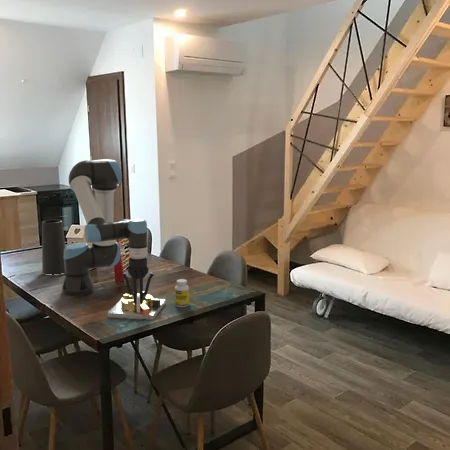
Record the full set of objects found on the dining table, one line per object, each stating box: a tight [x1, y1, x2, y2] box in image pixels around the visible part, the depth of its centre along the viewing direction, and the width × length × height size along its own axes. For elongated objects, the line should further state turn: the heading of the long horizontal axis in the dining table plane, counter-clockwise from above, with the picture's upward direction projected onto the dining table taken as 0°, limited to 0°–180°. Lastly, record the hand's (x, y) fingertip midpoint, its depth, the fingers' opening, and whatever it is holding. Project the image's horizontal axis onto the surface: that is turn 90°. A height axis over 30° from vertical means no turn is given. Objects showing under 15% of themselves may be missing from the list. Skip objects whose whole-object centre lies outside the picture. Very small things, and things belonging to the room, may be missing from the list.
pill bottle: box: [174, 278, 190, 308], centre depth 232 cm, size 6×6×12 cm
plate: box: [107, 296, 166, 321], centre depth 226 cm, size 21×20×6 cm
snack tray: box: [120, 290, 155, 316], centre depth 223 cm, size 21×13×4 cm, turn 25°
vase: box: [41, 219, 67, 275], centre depth 281 cm, size 14×14×29 cm
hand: (138, 311), depth 216 cm, fingers closed
